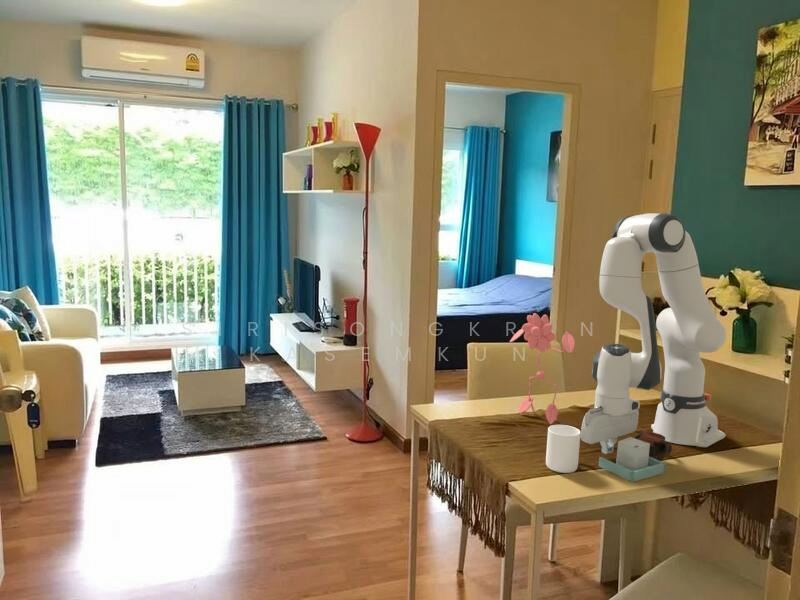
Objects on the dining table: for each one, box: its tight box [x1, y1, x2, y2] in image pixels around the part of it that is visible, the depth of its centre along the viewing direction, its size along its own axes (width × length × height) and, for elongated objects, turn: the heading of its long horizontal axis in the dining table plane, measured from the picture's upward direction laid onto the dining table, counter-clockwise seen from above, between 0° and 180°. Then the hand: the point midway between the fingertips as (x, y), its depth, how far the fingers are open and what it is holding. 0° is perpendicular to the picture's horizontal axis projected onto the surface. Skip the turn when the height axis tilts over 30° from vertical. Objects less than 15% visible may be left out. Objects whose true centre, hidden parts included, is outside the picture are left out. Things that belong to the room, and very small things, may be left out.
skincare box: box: [615, 436, 650, 471], centre depth 172 cm, size 6×6×7 cm
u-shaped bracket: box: [598, 456, 667, 483], centre depth 171 cm, size 13×11×2 cm
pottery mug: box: [633, 430, 673, 461], centre depth 180 cm, size 12×10×8 cm
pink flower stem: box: [509, 312, 576, 432], centre depth 204 cm, size 15×26×35 cm, turn 39°
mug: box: [545, 424, 581, 474], centre depth 172 cm, size 12×8×10 cm
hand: (607, 452), depth 178 cm, fingers closed
